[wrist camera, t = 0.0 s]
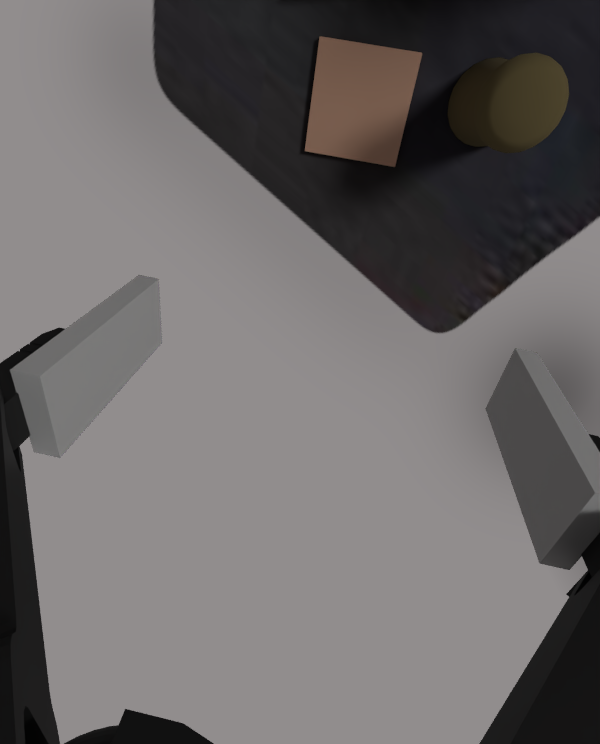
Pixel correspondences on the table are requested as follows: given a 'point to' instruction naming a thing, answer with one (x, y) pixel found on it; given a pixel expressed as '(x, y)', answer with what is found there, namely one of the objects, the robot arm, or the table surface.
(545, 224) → the table surface
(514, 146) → the olive domed peg
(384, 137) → the end plate
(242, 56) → the table surface
